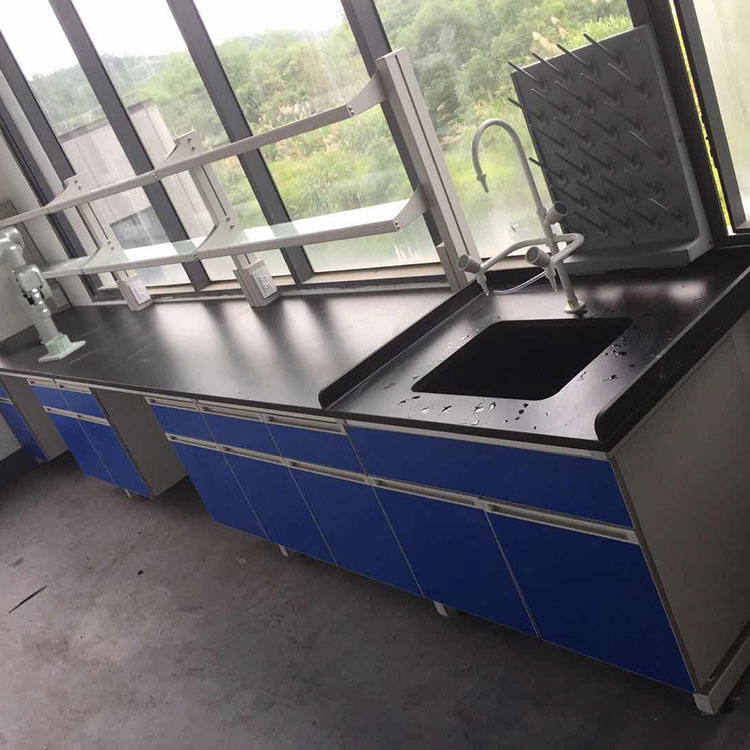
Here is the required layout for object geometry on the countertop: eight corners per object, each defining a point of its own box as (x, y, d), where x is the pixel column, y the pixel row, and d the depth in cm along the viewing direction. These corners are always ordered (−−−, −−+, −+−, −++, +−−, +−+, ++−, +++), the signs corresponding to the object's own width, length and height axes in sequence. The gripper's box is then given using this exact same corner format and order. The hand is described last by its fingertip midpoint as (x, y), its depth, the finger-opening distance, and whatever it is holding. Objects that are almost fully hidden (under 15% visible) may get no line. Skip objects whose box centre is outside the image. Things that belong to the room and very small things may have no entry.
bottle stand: (39, 362, 414) (32, 349, 411) (65, 346, 427) (58, 334, 425) (60, 359, 404) (52, 346, 401) (86, 343, 417) (79, 330, 415)
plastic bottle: (39, 322, 410) (20, 286, 403) (41, 319, 416) (22, 284, 409) (51, 317, 411) (32, 281, 404) (53, 314, 417) (34, 279, 410)
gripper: (11, 274, 396) (28, 307, 402) (38, 262, 408) (55, 294, 415) (2, 277, 400) (20, 309, 406) (29, 264, 413) (46, 296, 419)
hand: (37, 301), depth 410 cm, fingers closed on plastic bottle, 6 cm apart
